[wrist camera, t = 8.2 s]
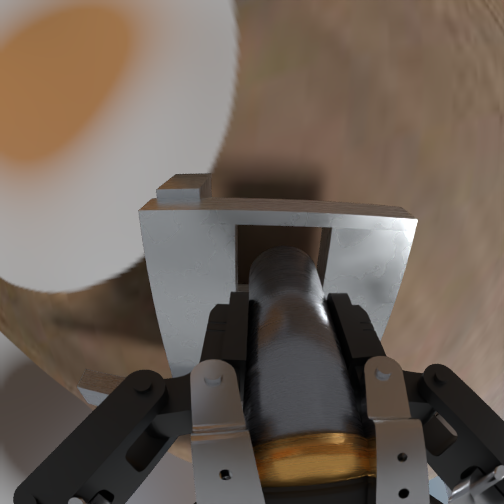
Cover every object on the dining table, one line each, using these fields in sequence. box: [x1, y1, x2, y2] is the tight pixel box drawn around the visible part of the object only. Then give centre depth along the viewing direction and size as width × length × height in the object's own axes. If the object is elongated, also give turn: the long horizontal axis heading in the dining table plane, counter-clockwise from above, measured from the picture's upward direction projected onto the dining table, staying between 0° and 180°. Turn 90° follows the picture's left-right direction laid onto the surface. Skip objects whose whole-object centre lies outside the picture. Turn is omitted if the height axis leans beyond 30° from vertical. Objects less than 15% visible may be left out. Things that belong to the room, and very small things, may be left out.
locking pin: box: [243, 246, 370, 487], centre depth 9 cm, size 3×3×10 cm
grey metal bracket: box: [77, 174, 417, 409], centre depth 16 cm, size 22×16×14 cm
